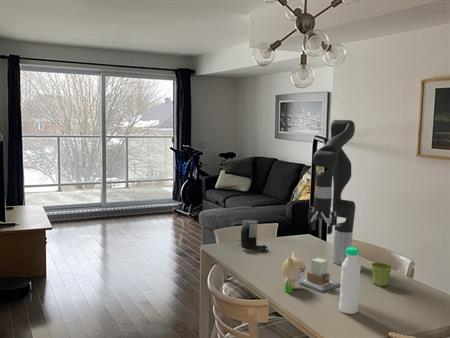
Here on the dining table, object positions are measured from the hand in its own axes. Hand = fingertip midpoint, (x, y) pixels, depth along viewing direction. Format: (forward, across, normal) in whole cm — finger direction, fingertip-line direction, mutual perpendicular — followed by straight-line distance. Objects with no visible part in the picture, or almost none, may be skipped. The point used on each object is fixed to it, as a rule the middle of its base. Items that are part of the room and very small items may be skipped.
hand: (321, 232), depth 200 cm
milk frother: (+24, +58, -17) cm, 65 cm away
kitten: (+24, +4, +13) cm, 28 cm away
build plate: (+24, 0, 0) cm, 24 cm away
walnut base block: (+23, 0, 0) cm, 23 cm away
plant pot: (+24, -17, -24) cm, 38 cm away
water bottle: (+24, -25, +14) cm, 38 cm away
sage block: (+19, 0, 0) cm, 19 cm away
